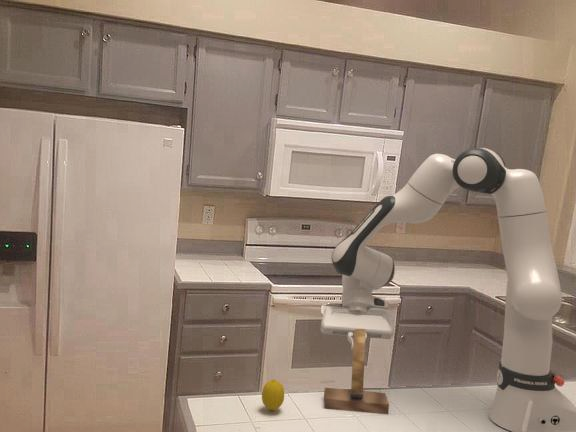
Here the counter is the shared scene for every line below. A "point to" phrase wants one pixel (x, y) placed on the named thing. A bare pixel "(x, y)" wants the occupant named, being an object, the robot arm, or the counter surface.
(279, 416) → the counter surface
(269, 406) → the lemon
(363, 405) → the brown wooden block
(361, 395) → the tan wooden peg
